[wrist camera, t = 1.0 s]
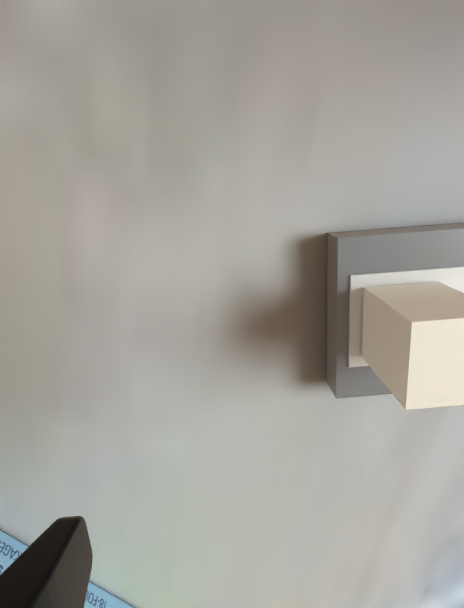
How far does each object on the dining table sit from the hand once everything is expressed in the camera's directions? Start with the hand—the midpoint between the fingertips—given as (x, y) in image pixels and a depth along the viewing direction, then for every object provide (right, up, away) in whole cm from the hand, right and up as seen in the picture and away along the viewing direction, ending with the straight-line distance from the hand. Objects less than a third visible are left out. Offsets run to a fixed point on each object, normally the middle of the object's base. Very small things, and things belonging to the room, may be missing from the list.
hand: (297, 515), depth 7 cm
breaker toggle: (+6, +3, +9) cm, 11 cm away
